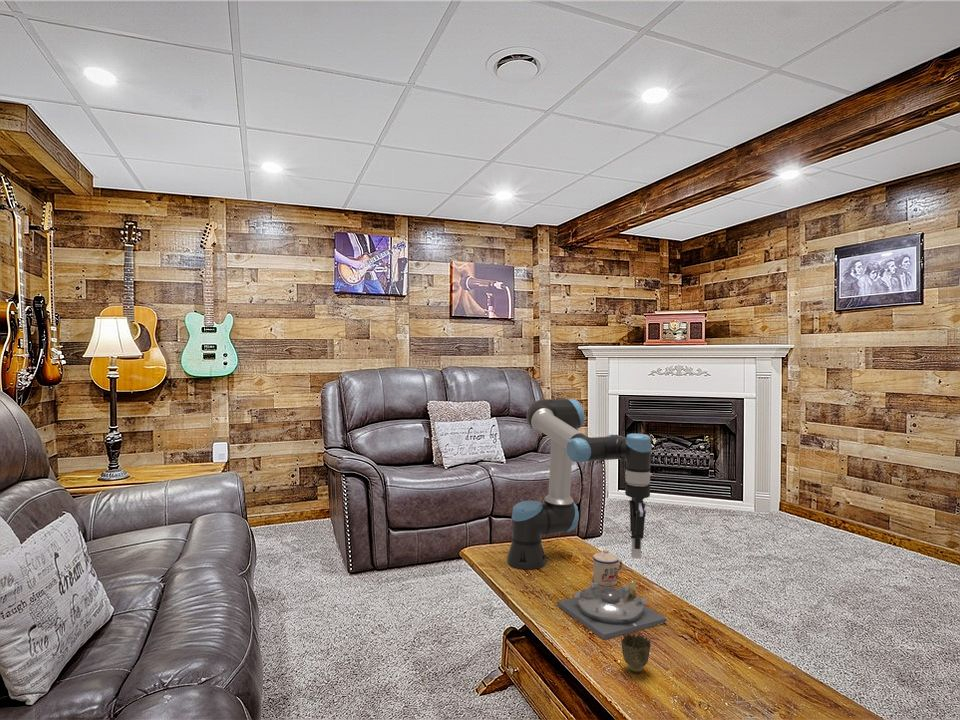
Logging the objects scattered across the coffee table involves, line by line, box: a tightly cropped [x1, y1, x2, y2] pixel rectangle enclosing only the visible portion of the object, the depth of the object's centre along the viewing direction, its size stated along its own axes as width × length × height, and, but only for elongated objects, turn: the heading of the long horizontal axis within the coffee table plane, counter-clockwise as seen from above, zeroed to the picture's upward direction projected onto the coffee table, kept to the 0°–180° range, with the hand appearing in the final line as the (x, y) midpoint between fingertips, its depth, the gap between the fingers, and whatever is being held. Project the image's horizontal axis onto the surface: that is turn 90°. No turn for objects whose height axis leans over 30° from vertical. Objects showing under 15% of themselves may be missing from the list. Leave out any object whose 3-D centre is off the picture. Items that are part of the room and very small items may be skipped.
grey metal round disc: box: [574, 578, 648, 624], centre depth 179 cm, size 20×22×8 cm
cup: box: [620, 633, 651, 674], centre depth 148 cm, size 8×7×8 cm
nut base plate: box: [556, 596, 667, 641], centre depth 179 cm, size 24×24×2 cm
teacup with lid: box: [592, 548, 624, 587], centre depth 205 cm, size 12×9×12 cm
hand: (636, 557), depth 179 cm, fingers closed
